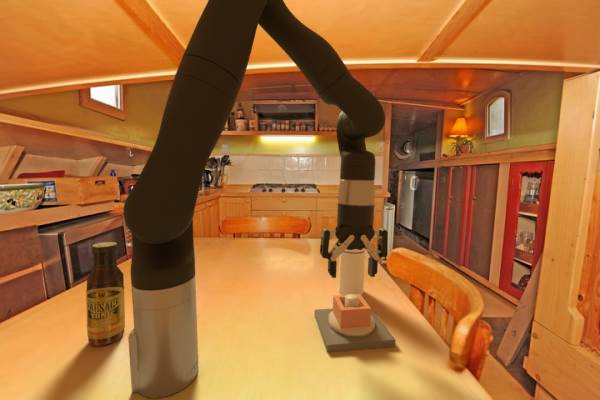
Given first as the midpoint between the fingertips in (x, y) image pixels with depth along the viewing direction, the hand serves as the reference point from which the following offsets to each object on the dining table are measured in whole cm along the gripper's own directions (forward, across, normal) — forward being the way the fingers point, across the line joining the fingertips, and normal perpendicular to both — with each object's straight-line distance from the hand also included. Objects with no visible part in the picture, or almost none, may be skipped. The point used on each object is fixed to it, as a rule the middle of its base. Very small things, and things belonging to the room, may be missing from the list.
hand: (352, 276), depth 56 cm
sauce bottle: (+13, -51, +3) cm, 53 cm away
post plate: (+12, 0, 0) cm, 12 cm away
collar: (+10, 0, 0) cm, 10 cm away
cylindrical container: (+12, +6, +18) cm, 23 cm away
